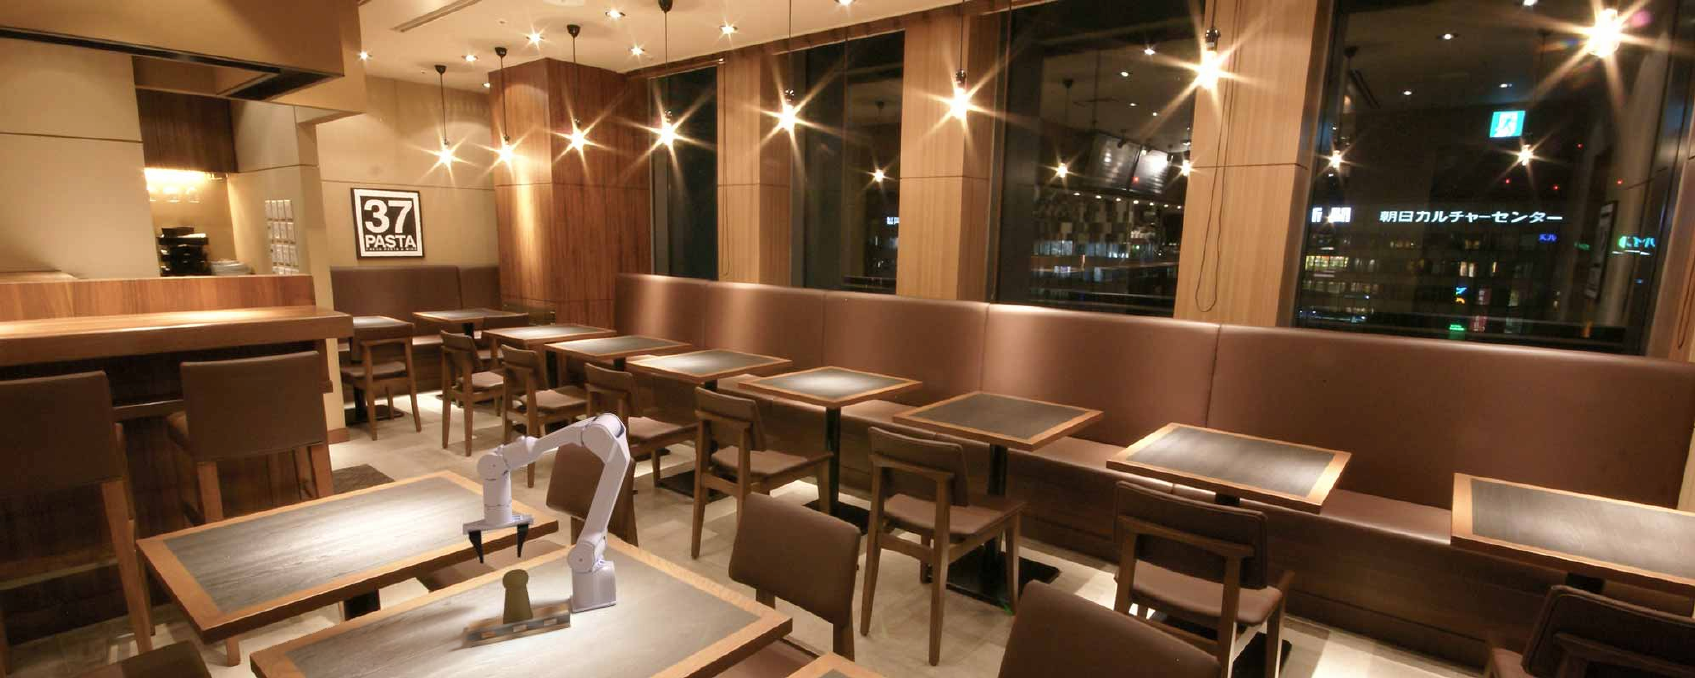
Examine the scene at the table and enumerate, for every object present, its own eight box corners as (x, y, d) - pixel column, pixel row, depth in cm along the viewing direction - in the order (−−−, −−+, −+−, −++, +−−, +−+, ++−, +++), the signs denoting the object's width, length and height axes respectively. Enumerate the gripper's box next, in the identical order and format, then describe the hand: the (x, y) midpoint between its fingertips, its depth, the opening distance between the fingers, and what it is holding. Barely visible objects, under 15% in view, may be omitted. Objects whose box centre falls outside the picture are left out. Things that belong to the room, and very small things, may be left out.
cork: (496, 624, 160) (493, 576, 158) (514, 610, 166) (511, 564, 164) (521, 628, 159) (518, 579, 157) (538, 613, 165) (536, 567, 163)
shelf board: (567, 607, 169) (566, 595, 169) (570, 626, 161) (570, 614, 161) (468, 626, 161) (467, 613, 160) (467, 648, 153) (466, 634, 152)
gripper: (531, 491, 174) (534, 546, 176) (462, 500, 168) (465, 556, 170) (533, 502, 168) (535, 558, 170) (461, 511, 162) (464, 569, 164)
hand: (500, 558), depth 170 cm, fingers open, 7 cm apart
